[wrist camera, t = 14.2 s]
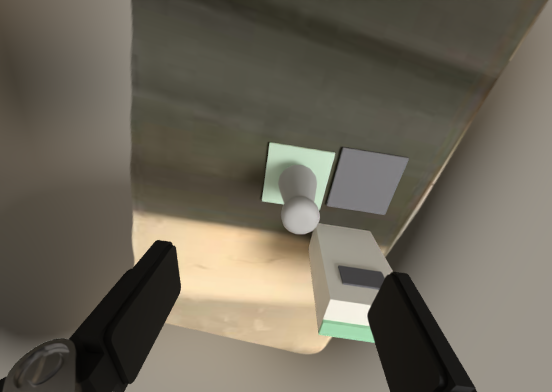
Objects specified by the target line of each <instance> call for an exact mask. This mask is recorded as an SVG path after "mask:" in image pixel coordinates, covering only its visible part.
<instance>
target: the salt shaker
mask: <svg viewBox="0 0 552 392" xmlns="http://www.w3.org/2000/svg"><path fill="white" fill-rule="evenodd" d="M278 186H279V189H280V193H281V196H282V199H283V202H284V205H283V208H282V212H281V218H282V222H283V225H284V227H285V228H286V229H287V230H288V231H290V232H292V233H295V234H306V233H309V232H311V231H313V230H314V229H315V228H316V227H317V225H318V222H319V219H320V214H319V210H318V207H317V205H316V204H315V203H314V200H315V194H316V188H317V180H316V176H315V174H314V173H313V172H312V170H311V169H310V168H308V167H306V166H304V165H292V166H290V167H287V168H285V170H284V171H283V172H282V173H281V174H280V177H279V181H278Z"/></svg>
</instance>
